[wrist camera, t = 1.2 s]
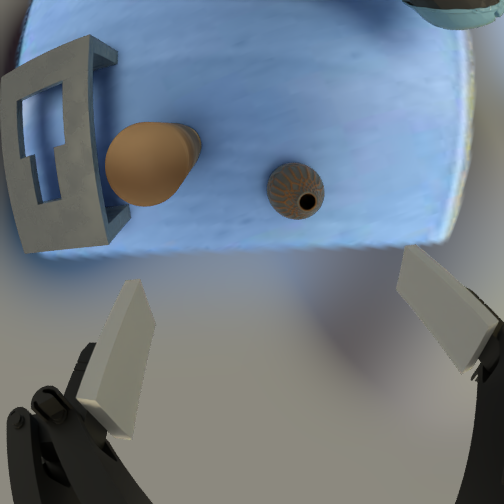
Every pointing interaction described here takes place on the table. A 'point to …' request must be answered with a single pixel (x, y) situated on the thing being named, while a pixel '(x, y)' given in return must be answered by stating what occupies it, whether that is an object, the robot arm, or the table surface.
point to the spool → (151, 161)
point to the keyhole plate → (59, 152)
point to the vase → (295, 191)
